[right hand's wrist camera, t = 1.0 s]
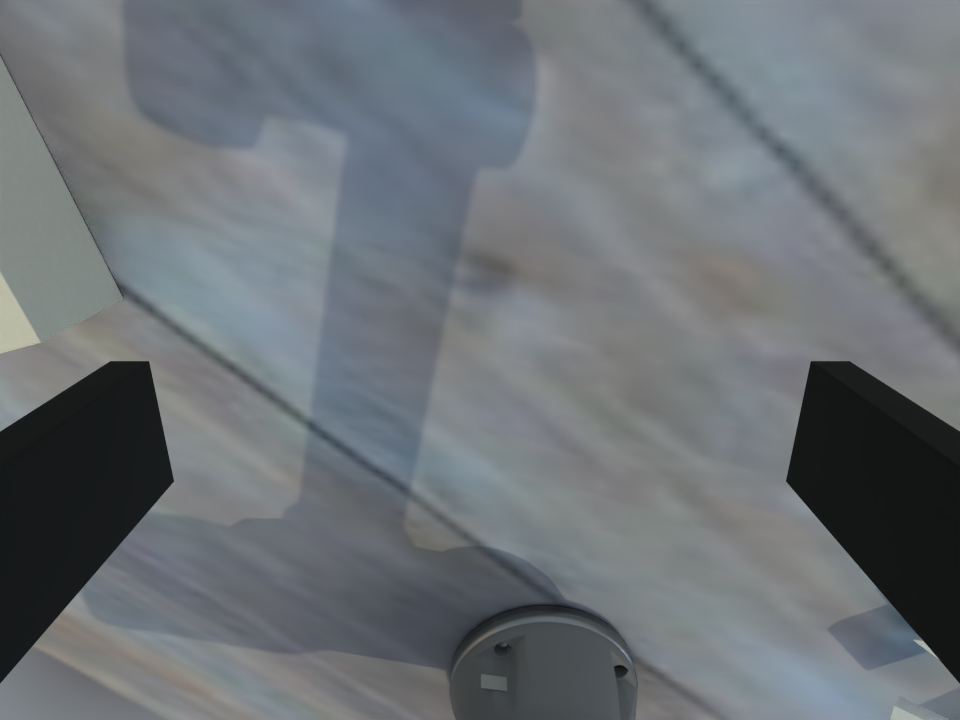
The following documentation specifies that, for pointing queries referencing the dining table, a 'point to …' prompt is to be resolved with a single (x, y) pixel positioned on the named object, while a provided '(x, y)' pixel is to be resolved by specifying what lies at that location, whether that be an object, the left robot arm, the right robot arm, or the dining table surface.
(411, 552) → the dining table surface
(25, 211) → the beam
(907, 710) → the white plastic object
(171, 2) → the dining table surface
